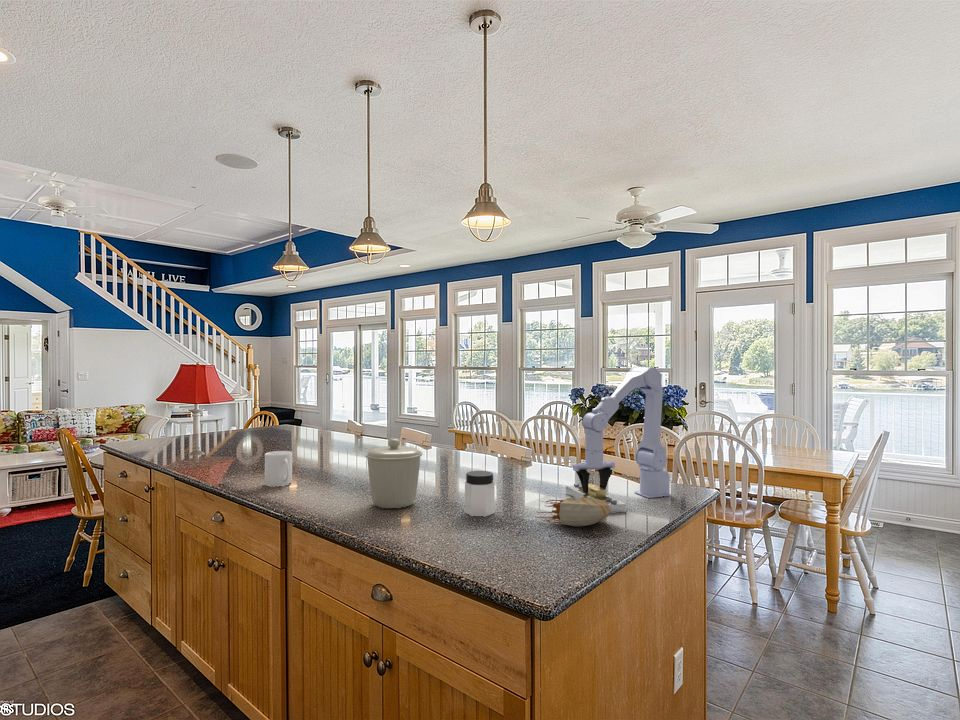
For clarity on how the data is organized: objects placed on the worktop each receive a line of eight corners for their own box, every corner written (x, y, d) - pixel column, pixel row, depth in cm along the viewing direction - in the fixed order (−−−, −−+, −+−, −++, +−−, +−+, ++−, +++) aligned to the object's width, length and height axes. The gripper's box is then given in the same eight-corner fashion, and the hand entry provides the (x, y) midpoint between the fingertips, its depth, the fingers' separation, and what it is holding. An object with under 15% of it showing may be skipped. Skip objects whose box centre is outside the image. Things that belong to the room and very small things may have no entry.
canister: (353, 505, 167) (353, 438, 167) (398, 494, 180) (398, 433, 180) (388, 516, 155) (388, 445, 155) (434, 504, 168) (434, 438, 168)
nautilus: (529, 529, 146) (541, 517, 160) (608, 533, 138) (614, 520, 152) (528, 500, 146) (540, 490, 160) (607, 502, 139) (613, 492, 153)
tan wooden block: (591, 498, 177) (591, 483, 177) (605, 505, 168) (605, 489, 168) (581, 499, 176) (582, 484, 176) (596, 506, 167) (596, 490, 167)
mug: (279, 480, 201) (280, 450, 201) (302, 484, 195) (302, 452, 196) (258, 485, 193) (259, 453, 193) (281, 489, 187) (281, 456, 187)
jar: (498, 515, 157) (498, 475, 157) (473, 518, 153) (473, 477, 153) (485, 507, 165) (485, 469, 165) (461, 510, 161) (461, 471, 161)
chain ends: (582, 491, 185) (582, 482, 185) (626, 511, 161) (626, 501, 161) (565, 493, 183) (565, 483, 183) (607, 513, 158) (607, 502, 158)
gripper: (606, 446, 178) (606, 487, 178) (568, 449, 173) (568, 490, 173) (618, 450, 171) (618, 492, 171) (579, 452, 167) (579, 495, 167)
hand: (594, 491), depth 172 cm, fingers open, 6 cm apart
